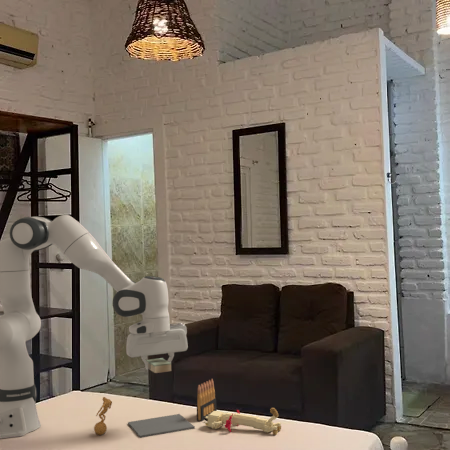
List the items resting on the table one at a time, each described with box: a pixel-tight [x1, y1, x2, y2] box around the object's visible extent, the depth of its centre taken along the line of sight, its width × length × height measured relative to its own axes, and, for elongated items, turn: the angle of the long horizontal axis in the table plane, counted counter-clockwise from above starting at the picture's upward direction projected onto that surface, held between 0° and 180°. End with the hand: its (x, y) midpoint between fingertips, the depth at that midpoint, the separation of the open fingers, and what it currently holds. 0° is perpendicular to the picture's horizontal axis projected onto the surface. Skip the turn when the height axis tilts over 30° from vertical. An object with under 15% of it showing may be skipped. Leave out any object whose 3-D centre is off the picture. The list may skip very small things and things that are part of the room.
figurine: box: [93, 396, 113, 436], centre depth 195 cm, size 8×6×12 cm
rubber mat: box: [127, 413, 196, 438], centre depth 201 cm, size 18×16×1 cm
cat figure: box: [202, 407, 282, 436], centre depth 194 cm, size 10×9×25 cm
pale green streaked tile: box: [146, 357, 172, 374], centre depth 201 cm, size 6×2×10 cm
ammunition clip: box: [196, 378, 218, 422], centre depth 209 cm, size 11×2×12 cm, turn 152°
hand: (158, 367), depth 201 cm, fingers closed on pale green streaked tile, 5 cm apart
